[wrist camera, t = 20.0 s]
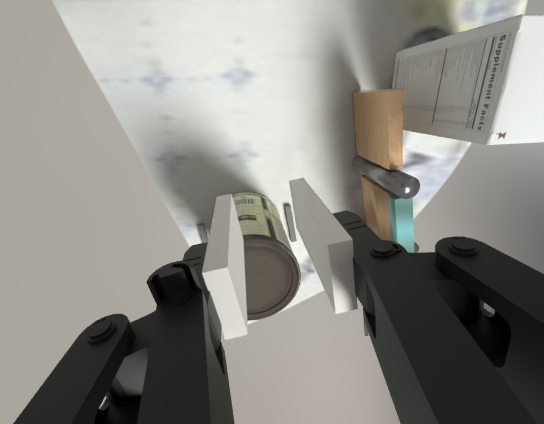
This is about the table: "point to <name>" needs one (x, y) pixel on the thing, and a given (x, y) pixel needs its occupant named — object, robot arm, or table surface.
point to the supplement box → (477, 83)
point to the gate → (388, 214)
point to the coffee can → (265, 256)
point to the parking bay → (289, 219)
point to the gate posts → (382, 141)
